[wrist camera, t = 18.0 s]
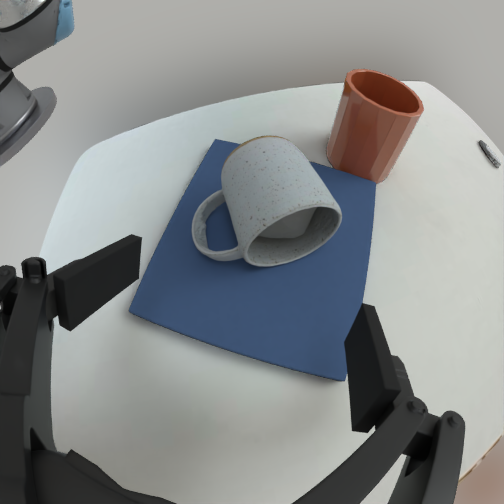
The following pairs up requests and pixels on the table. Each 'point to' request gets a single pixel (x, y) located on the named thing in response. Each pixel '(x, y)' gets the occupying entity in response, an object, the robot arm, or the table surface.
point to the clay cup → (372, 124)
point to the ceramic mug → (270, 204)
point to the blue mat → (262, 280)
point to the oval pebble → (490, 154)
